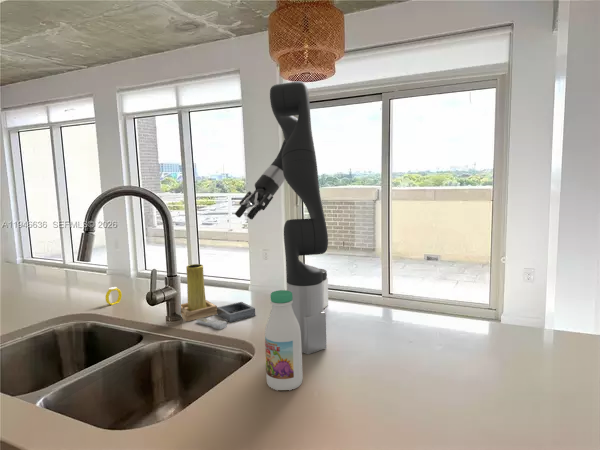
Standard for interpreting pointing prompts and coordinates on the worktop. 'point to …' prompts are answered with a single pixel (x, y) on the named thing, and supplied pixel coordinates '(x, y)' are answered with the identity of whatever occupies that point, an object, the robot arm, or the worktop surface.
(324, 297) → the jar
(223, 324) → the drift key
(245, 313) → the grey square shallow tray
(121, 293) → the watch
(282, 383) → the milk bottle
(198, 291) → the vase
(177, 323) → the worktop surface
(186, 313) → the wooden tray
